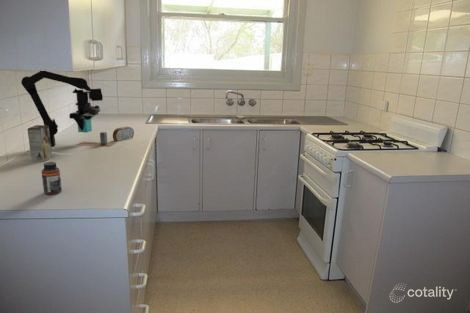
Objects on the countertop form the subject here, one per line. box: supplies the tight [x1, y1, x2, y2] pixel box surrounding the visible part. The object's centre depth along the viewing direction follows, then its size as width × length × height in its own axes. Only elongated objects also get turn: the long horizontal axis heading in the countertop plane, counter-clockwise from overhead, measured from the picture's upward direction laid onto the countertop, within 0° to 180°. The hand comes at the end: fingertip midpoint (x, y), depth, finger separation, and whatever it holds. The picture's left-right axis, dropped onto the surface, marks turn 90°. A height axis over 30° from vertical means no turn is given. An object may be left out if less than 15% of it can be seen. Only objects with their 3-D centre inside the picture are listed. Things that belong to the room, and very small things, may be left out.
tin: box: [112, 126, 135, 142], centre depth 219 cm, size 15×3×8 cm, turn 150°
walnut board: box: [75, 141, 116, 148], centre depth 205 cm, size 9×20×1 cm, turn 82°
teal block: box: [77, 118, 93, 133], centre depth 203 cm, size 5×5×7 cm
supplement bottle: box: [41, 161, 63, 196], centre depth 133 cm, size 6×6×11 cm
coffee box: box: [27, 124, 53, 162], centre depth 175 cm, size 9×6×16 cm
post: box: [99, 131, 108, 145], centre depth 203 cm, size 3×3×7 cm
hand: (85, 129), depth 204 cm, fingers closed on teal block, 5 cm apart
